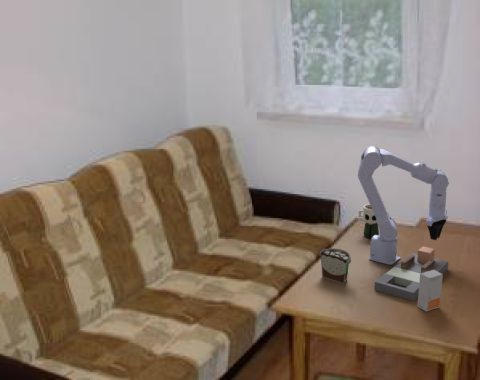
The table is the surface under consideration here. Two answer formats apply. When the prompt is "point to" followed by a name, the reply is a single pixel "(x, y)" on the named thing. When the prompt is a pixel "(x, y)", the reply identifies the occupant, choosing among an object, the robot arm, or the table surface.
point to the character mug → (369, 221)
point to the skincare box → (430, 290)
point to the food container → (335, 264)
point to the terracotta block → (425, 254)
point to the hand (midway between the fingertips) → (435, 238)
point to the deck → (406, 279)
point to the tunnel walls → (411, 259)
